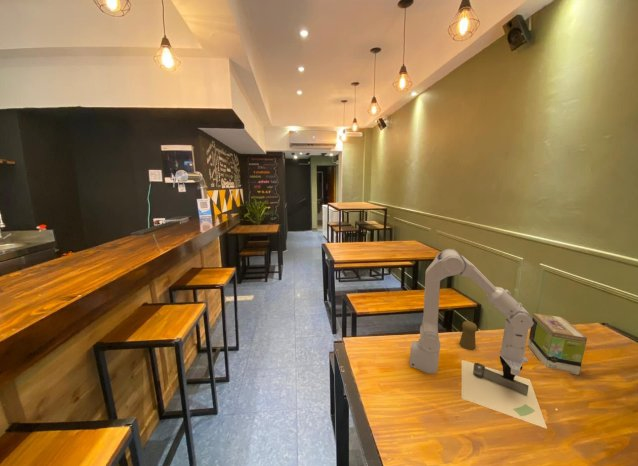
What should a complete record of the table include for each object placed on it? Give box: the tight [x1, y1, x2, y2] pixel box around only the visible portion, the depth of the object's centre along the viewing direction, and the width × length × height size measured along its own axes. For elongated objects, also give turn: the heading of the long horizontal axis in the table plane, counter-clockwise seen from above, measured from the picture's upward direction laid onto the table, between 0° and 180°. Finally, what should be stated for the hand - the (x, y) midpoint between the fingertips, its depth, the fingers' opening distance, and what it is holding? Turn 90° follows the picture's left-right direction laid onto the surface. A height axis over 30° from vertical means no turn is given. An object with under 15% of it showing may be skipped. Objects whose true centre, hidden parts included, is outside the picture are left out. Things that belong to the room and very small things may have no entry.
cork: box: [459, 320, 478, 351], centre depth 102 cm, size 6×6×11 cm
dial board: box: [461, 359, 548, 430], centre depth 81 cm, size 20×20×1 cm
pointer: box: [473, 362, 529, 395], centre depth 83 cm, size 15×3×3 cm, turn 50°
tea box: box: [527, 312, 588, 376], centre depth 95 cm, size 15×10×15 cm
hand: (507, 380), depth 82 cm, fingers closed, pressing on pointer
